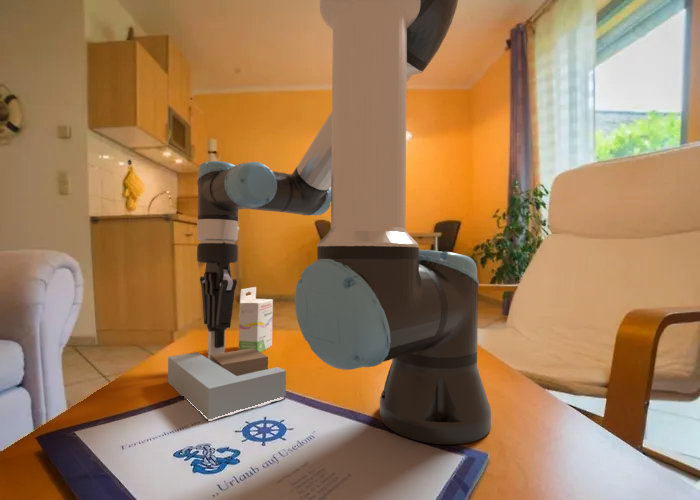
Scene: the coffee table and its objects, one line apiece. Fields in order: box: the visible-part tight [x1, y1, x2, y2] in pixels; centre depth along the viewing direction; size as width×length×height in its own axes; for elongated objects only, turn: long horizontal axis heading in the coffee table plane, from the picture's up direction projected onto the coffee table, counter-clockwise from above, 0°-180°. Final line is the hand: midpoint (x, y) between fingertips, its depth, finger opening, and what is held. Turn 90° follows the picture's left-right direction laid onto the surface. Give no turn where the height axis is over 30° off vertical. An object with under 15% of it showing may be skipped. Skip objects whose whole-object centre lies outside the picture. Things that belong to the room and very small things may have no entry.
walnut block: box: [210, 348, 269, 376], centre depth 65 cm, size 7×8×5 cm
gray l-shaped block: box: [167, 351, 287, 419], centre depth 61 cm, size 20×12×4 cm, turn 41°
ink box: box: [238, 286, 274, 353], centre depth 88 cm, size 9×5×15 cm, turn 168°
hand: (216, 362), depth 71 cm, fingers closed
